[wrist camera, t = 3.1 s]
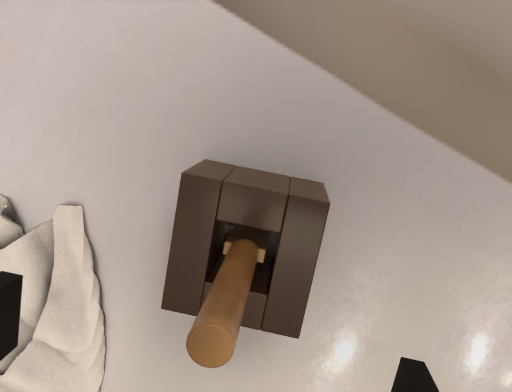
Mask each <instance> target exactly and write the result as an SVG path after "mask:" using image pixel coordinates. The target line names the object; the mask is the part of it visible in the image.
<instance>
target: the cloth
mask: <svg viewBox="0 0 512 392" xmlns="http://www.w3.org/2000/svg"><path fill="white" fill-rule="evenodd" d="M1 271H5V272H10V273H15V274H19V275H23V283H22V296H21V309H20V322H19V335H18V346H17V347H16V348H15V349H14V350H13V351H11V352H10V353H9V354H8V355H7V356H6V357H5V358H3V359H2V360H1V361H0V392H100V386H101V382H102V379H103V374H104V369H105V358H104V356H105V350H106V337H105V335H104V332H103V331H104V314H103V310H102V307H101V304H100V296H101V294H100V283H99V280H98V278H97V275H96V273H95V271H94V262H93V253H92V248H91V245H90V242H89V239H88V237H87V235H86V233H85V231H84V223H83V211H82V206H67V205H58V207H57V208H56V210H55V212H54V214H53V220H51V221H49V222H47V223H45V224H43V225H41V226H38V227H36V228H35V229H33V230H32V231H30V232H29V233H27V234H26V235H24V232H23V229H22V226H21V225H20V224H18V223H17V222H15V216H14V211H13V209H12V207H11V205H10V203H9V201H8V199H7V198H5V197H3V196H1V195H0V272H1Z"/></svg>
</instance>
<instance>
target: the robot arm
mask: <svg viewBox="0 0 512 392" xmlns="http://www.w3.org/2000/svg"><path fill="white" fill-rule="evenodd" d="M22 283H23V275H19V274H15V273H10V272H5V271H1V272H0V361H1V360H2V359H3V358H5V357H6V356H7V355H8V354H9V353H10V352H11V351H13V350H14V349H15V348H16V347H17V346H18V335H19V322H20V309H21V296H22ZM391 392H439V390H438V388H437V386H436V384H435V382H434V380H433V378H432V376H431V374H430V372H429V370H428V369H427V367H426V365H425V363H424V362H422V361H417V360H413V359H408V358H404V357H401V359H400V363H399V366H398V370H397V373H396V377H395V380H394V383H393V387H392V390H391Z"/></svg>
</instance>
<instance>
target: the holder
mask: <svg viewBox="0 0 512 392" xmlns="http://www.w3.org/2000/svg"><path fill="white" fill-rule="evenodd" d="M329 206H330V202H329V199H328V196H327V193H326V190H325V187H324V184H323V183H320V182H315V181H310V180H305V179H300V178H295V177H291V178H290V177H289V176H285V175H280V174H275V173H270V172H265V171H260V170H255V169H250V168H245V167H240V166H236V165H231V164H226V163H221V162H216V161H211V160H206V159H205V160H203V161H201V162H200V163H198V164H196V165H195V166H193V167H191V168H190V169H188V170H186V171H184V172H183V173H182V175H181V181H180V188H179V194H178V201H177V208H176V214H175V221H174V227H173V234H172V240H171V247H170V253H169V260H168V266H167V273H166V279H165V286H164V293H163V299H162V306H161V309H165V310H170V311H174V312H179V313H183V314H188V315H192V316H197V315H198V313H199V311H200V309H201V307H202V305H203V303H204V300H205V298H206V296H207V294H208V292H209V290H210V288H211V286H212V284H213V282H214V279H215V277H216V275H217V273H218V271H219V269H220V267H221V265H222V263H223V261H224V258H225V256H226V255H224V254H223V248H222V247H223V241H224V236H225V230H226V225H227V222H228V223H233V224H237V225H242V226H247V227H252V228H257V229H261V230H266V231H271V232H276V233H279V235H278V240H277V245H276V250H275V254H274V259H272V258H268V257H265V258H264V262H263V263H262V262H257V264H256V268H255V271H254V275H253V279H252V283H251V287H250V291H249V295H248V298H247V302H246V306H245V310H244V314H243V318H242V322H241V325H240V326H243V327H248V328H252V329H257V330H260V329H261V330H262V331H266V332H270V333H275V334H279V335H284V336H288V337H293V338H297V339H298V338H299V336H300V331H301V327H302V323H303V318H304V314H305V310H306V306H307V301H308V297H309V293H310V288H311V284H312V280H313V275H314V271H315V267H316V262H317V258H318V254H319V249H320V245H321V241H322V236H323V232H324V228H325V224H326V219H327V215H328V211H329Z"/></svg>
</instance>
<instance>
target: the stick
mask: <svg viewBox="0 0 512 392" xmlns="http://www.w3.org/2000/svg"><path fill="white" fill-rule="evenodd" d="M269 235H270V231H266V230H261V229H257V228H252V227H247V226H242V225H237V224H234V225H233V227H232V229H231V231H230V233H229V235H228V237H227V238H226V240H225V243H224V248H223V254H224V255H226V256H225V258H224V261H223V263H222V265H221V267H220V269H219V271H218V273H217V275H216V277H215V279H214V282H213V284H212V286H211V288H210V290H209V292H208V294H207V296H206V298H205V300H204V303H203V305H202V307H201V309H200V311H199V313H198V315H197V317H196V319H195V321H194V323H193V326H192V328H191V330H190V332H189V334H188V336H187V340H186V347H187V351H188V354H189V355H190V357H191V358H192V359H193V360H194V361H195V362H196V363H197V364H199V365H201V366H203V367H208V368H216V367H220V366H222V365H224V364H225V363H227V362H228V361H229V360H230V359H231V357H232V355H233V352H234V349H235V345H236V341H237V337H238V333H239V329H240V325H241V322H242V318H243V314H244V310H245V306H246V302H247V298H248V295H249V291H250V287H251V283H252V279H253V275H254V271H255V268H256V264H257V262H262V263H263V262H264V258H265V253H266V249H267V244H268V240H269Z"/></svg>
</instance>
